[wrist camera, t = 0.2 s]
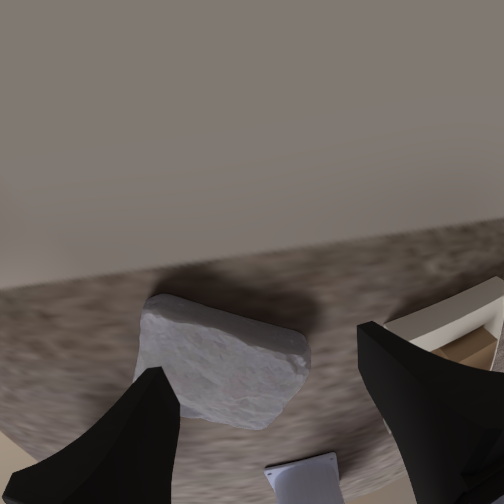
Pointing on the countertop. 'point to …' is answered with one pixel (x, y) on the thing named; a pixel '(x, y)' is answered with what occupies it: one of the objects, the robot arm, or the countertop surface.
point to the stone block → (222, 361)
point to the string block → (471, 349)
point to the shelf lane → (454, 318)
